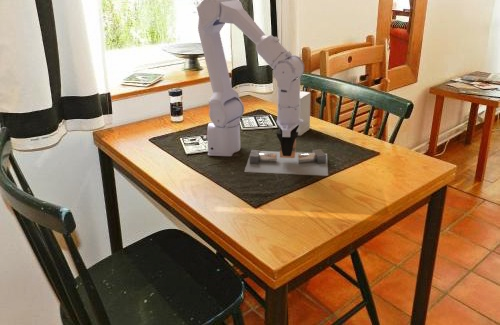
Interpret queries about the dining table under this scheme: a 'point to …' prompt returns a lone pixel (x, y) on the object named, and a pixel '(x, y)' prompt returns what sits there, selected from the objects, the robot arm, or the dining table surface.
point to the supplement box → (304, 112)
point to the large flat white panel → (288, 166)
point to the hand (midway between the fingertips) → (287, 151)
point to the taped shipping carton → (292, 151)
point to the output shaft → (312, 157)
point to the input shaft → (262, 157)
